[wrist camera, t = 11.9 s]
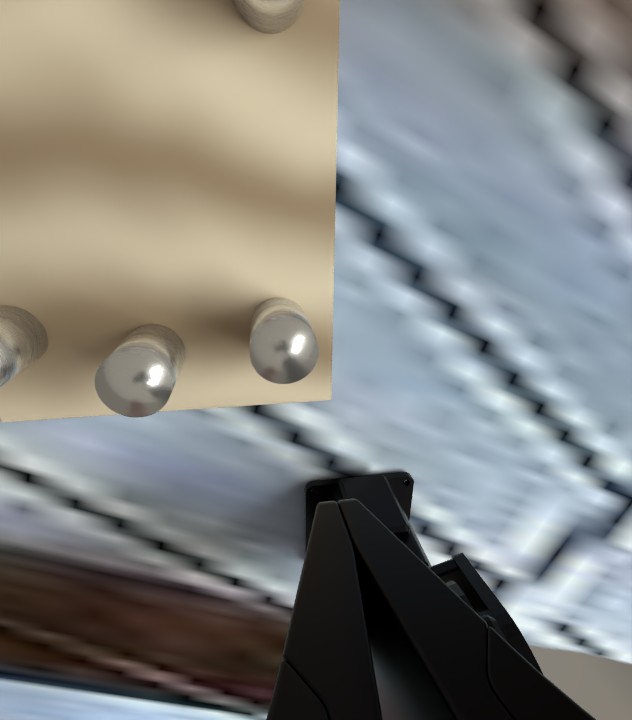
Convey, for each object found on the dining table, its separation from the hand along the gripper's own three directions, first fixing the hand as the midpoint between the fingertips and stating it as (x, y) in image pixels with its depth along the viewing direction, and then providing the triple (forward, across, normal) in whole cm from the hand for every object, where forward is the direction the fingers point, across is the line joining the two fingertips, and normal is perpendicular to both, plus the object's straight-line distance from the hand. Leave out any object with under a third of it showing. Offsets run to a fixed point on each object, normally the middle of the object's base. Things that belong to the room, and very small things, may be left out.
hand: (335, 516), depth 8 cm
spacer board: (+12, +6, -7) cm, 15 cm away
